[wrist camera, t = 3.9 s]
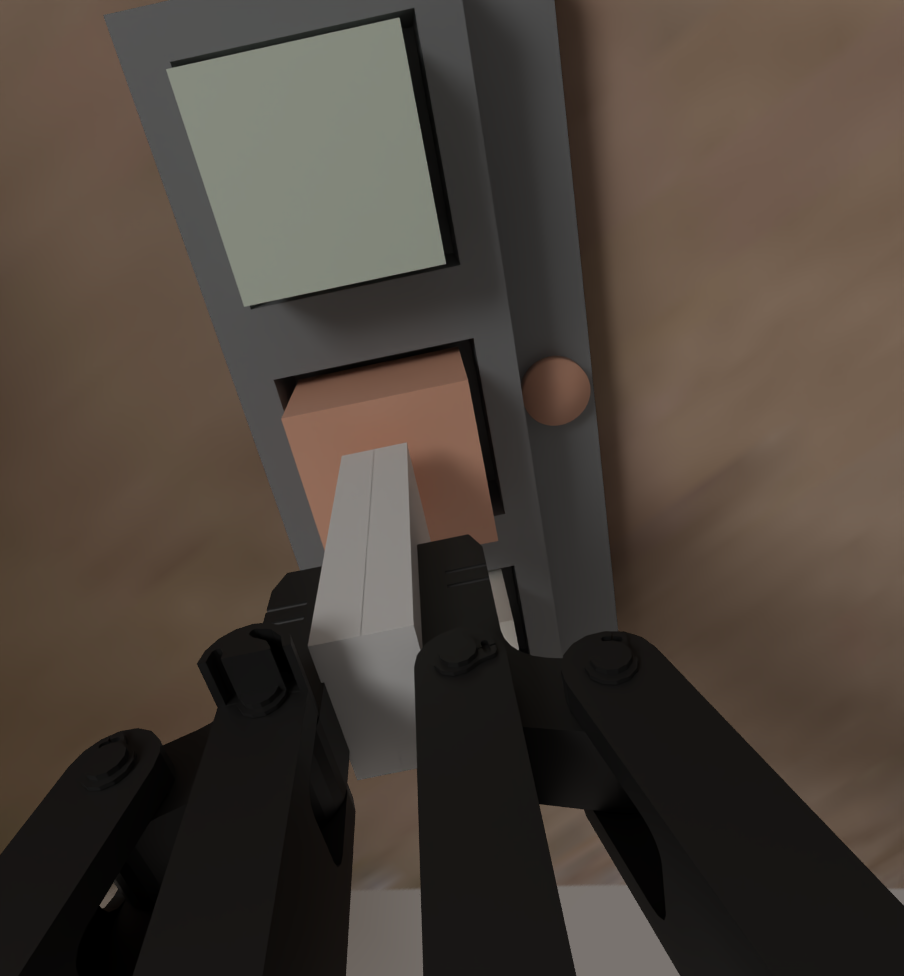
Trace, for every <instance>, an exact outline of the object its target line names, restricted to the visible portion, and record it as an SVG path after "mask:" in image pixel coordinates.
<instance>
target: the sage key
mask: <svg viewBox="0 0 904 976" xmlns="http://www.w3.org/2000/svg"><path fill="white" fill-rule="evenodd" d="M166 71H167V74H168V77H169V80H170V83H171V86H172V89H173V92H174V95H175V98H176V101H177V104H178V107H179V110H180V113H181V117H182V120H183V123H184V126H185V129H186V132H187V135H188V138H189V141H190V144H191V147H192V150H193V153H194V156H195V159H196V162H197V165H198V168H199V171H200V174H201V177H202V180H203V183H204V186H205V189H206V192H207V195H208V198H209V201H210V205H211V208H212V211H213V214H214V217H215V220H216V223H217V226H218V229H219V232H220V235H221V238H222V241H223V244H224V247H225V250H226V253H227V256H228V259H229V262H230V265H231V268H232V271H233V274H234V277H235V280H236V283H237V286H238V289H239V292H240V296H241V299H242V302H243V305H244V307H245V306H250V305H255V304H260V303H264V302H269V301H274V300H278V299H283V298H288V297H293V296H297V295H302V294H307V293H311V292H316V291H321V290H326V289H330V288H335V287H340V286H344V285H349V284H354V283H359V282H363V281H368V280H373V279H377V278H382V277H387V276H392V275H396V274H401V273H406V272H410V271H415V270H420V269H425V268H429V267H434V266H439V265H443V264H446V261H445V256H444V250H443V245H442V240H441V235H440V229H439V224H438V219H437V213H436V208H435V203H434V198H433V192H432V187H431V182H430V176H429V171H428V166H427V160H426V155H425V150H424V145H423V139H422V134H421V129H420V123H419V118H418V113H417V108H416V102H415V97H414V92H413V86H412V81H411V76H410V71H409V65H408V60H407V55H406V49H405V44H404V39H403V33H402V28H401V23H400V18H395V19H390V20H386V21H381V22H377V23H372V24H368V25H363V26H359V27H354V28H350V29H345V30H341V31H336V32H332V33H327V34H323V35H318V36H314V37H309V38H305V39H300V40H296V41H291V42H287V43H282V44H278V45H273V46H268V47H264V48H259V49H255V50H250V51H246V52H241V53H237V54H232V55H228V56H223V57H219V58H214V59H210V60H205V61H201V62H196V63H192V64H187V65H183V66H178V67H174V68H169V69H166Z"/></svg>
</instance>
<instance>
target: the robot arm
mask: <svg viewBox="0 0 904 976" xmlns="http://www.w3.org/2000/svg"><path fill="white" fill-rule="evenodd" d="M197 665H198V667H199V669H200V671H201V673H202V676H203V678H204V680H205V682H206V684H207V686H208V688H209V690H210V692H211V694H212V697H213V699H214V701H215V703H216V705H217V707H218V708H217V712H216V715H215V718H214V721H213V722H212V723H210V724H208V725H206V726H204V727H202V728H201V729H199V730H197V731H194V732H192V733H190V734H188V735H185V736H183V737H181V738H179V739H176V740H174V741H172V742H170V743H167V744H165V745H162V743H161V741H160V740H159V738H158V737H157V736H156V735H155V734H154V733H153V732H152V731H149V730H144V729H139V728H136V729H130V730H125V731H120V732H117V733H115V734H113V735H110V736H108V737H106V738H104V739H101V740H100V741H98V742H97V743H95V744H94V745H93V746H91V747H90V748H88V749H87V750H85V751H84V752H83V753H82V754H81V755H80V756H79V757H78V758H77V759H76V760H75V761H74V762H73V763H72V764H71V765H70V766H69V767H68V768H67V770H66V771H65V772H64V773H63V775H62V776H61V777H60V779H59V780H58V781H57V782H56V784H55V785H54V786H53V788H52V789H51V790H50V792H49V793H48V794H47V795H46V797H45V798H44V799H43V801H42V802H41V803H40V804H39V806H38V807H37V808H36V810H35V811H34V812H33V813H32V815H31V816H30V817H29V819H28V820H27V821H26V822H25V824H24V825H23V826H22V828H21V829H20V830H19V831H18V833H17V834H16V835H15V837H14V838H13V839H12V840H11V842H10V843H9V844H8V846H7V847H6V848H5V849H4V851H3V852H2V853H1V855H0V976H346V964H347V947H348V929H349V912H350V895H351V879H352V862H353V845H354V828H355V806H354V800H353V797H352V794H351V791H350V789H349V786H348V784H347V780H348V767H349V759H350V762H351V764H352V767H353V770H354V772H355V775H356V778H357V780H361V779H366V778H371V777H376V776H381V775H386V774H391V773H396V772H401V771H406V770H411V769H416V768H417V783H418V815H419V847H420V880H421V912H422V943H423V944H422V945H423V976H576V972H575V968H574V963H573V959H572V954H571V949H570V945H569V940H568V935H567V931H566V926H565V922H564V917H563V912H562V908H561V903H560V899H559V894H558V889H557V885H556V880H555V875H554V871H553V866H552V861H551V857H550V852H549V848H548V843H547V838H546V834H545V829H544V825H543V820H542V815H541V811H540V806H539V804H543V805H551V806H560V807H569V808H578V809H584V811H585V814H586V816H587V818H588V820H589V821H590V823H591V825H592V827H593V828H594V830H595V832H596V833H597V835H598V837H599V838H600V840H601V842H602V844H603V845H604V847H605V849H606V850H607V852H608V854H609V855H610V857H611V859H612V861H613V862H614V864H615V866H616V867H617V869H618V871H619V872H620V874H621V876H622V878H623V879H624V881H625V883H626V884H627V886H628V888H629V889H630V891H631V893H632V894H633V896H634V898H635V900H636V901H637V903H638V905H639V906H640V908H641V910H642V911H643V913H644V915H645V917H646V918H647V920H648V921H649V923H650V925H651V927H652V928H653V930H654V932H655V934H656V935H657V937H658V939H659V940H660V942H661V944H662V945H663V947H664V949H665V951H666V952H667V954H668V956H669V957H670V959H671V960H672V962H673V964H674V966H675V968H676V969H677V971H678V973H679V974H680V976H904V905H902V903H901V902H900V901H899V900H898V899H897V898H896V897H895V896H894V895H893V894H892V893H891V892H890V891H889V890H888V889H887V888H886V887H885V886H884V885H883V884H882V883H881V881H880V880H879V879H878V878H877V877H876V876H875V875H874V874H873V873H872V872H871V871H870V870H869V869H868V868H867V867H866V866H865V865H864V864H863V863H862V862H861V861H860V860H859V859H858V857H857V856H856V855H855V854H854V853H853V852H852V851H851V850H850V849H849V848H848V847H847V846H846V845H845V844H844V843H843V842H842V841H841V840H840V839H839V838H838V837H837V836H836V835H835V833H834V832H833V831H832V830H831V829H830V828H829V827H828V826H827V825H826V824H825V823H824V822H823V821H822V820H821V819H820V818H819V817H818V816H817V815H816V814H815V813H814V812H813V811H812V810H811V808H810V807H809V806H808V805H807V804H806V803H805V802H804V801H803V800H802V799H801V798H800V797H799V796H798V795H797V794H796V793H795V792H794V791H793V790H792V789H791V788H790V787H789V786H788V784H787V783H786V782H785V781H784V780H783V779H782V778H781V777H780V776H779V775H778V774H777V773H776V772H775V771H774V770H773V769H772V768H771V767H770V766H769V765H768V764H767V763H766V762H765V761H764V759H763V758H762V757H761V756H760V755H759V754H758V753H757V752H756V751H755V750H754V749H753V748H752V747H751V746H750V745H749V744H748V743H747V742H746V741H745V740H744V739H743V738H742V737H741V735H740V734H739V733H738V732H737V731H736V730H735V729H734V728H733V727H732V726H731V725H730V724H729V723H728V722H727V721H726V720H725V719H724V718H723V717H722V716H721V715H720V714H719V713H718V711H717V710H716V709H715V708H714V707H713V706H712V705H711V704H710V703H709V702H708V701H707V700H706V699H705V698H704V697H703V696H702V695H701V694H700V693H699V692H698V691H697V690H696V689H695V688H694V686H693V685H692V684H691V683H690V682H689V681H688V680H687V679H686V678H685V677H684V676H683V675H682V674H681V673H680V672H679V671H678V670H677V669H676V668H675V667H674V666H673V665H672V664H671V662H670V661H669V660H668V659H667V658H666V657H665V656H664V655H663V654H662V653H661V652H660V651H659V650H658V649H657V648H656V647H655V646H654V645H652V644H651V643H649V642H648V641H647V640H645V639H644V638H642V637H640V636H637V635H633V634H630V633H627V632H619V631H603V632H599V633H595V634H590V635H587V636H585V637H583V638H581V639H580V640H578V641H576V642H574V643H573V644H572V645H571V646H570V647H569V649H568V650H567V651H566V652H565V654H564V655H563V658H546V657H539V656H532V655H529V654H526V653H523V652H521V651H519V650H517V649H516V648H514V647H512V646H511V645H510V644H509V643H508V642H507V641H506V640H505V638H504V636H503V634H502V632H501V629H500V624H499V620H498V615H497V610H496V606H495V601H494V597H493V592H492V588H491V583H490V579H489V574H488V569H487V565H486V560H485V556H484V551H483V547H482V545H480V544H479V543H478V542H477V541H476V540H475V539H474V538H472V537H471V536H470V535H469V534H467V535H462V536H457V537H452V538H447V539H442V540H437V541H432V542H431V540H430V536H429V532H428V528H427V524H426V519H425V515H424V511H423V507H422V503H421V499H420V495H419V491H418V487H417V482H416V478H415V474H414V470H413V466H412V462H411V458H410V454H409V449H408V445H407V442H406V443H401V444H396V445H392V446H387V447H382V448H377V449H372V450H368V451H363V452H358V453H353V454H348V455H344V456H342V457H341V463H340V469H339V474H338V480H337V485H336V491H335V497H334V502H333V508H332V513H331V519H330V525H329V530H328V536H327V541H326V547H325V553H324V558H323V564H322V566H320V567H315V568H310V569H305V570H300V571H296V572H291V573H287V574H286V575H285V576H284V578H283V579H282V580H281V581H280V582H279V584H278V585H277V586H276V587H275V588H274V590H273V591H272V593H271V597H270V600H269V604H268V607H267V613H266V614H265V618H264V621H263V623H260V624H251V625H248V626H245V627H242V628H239V629H236V630H234V631H232V632H230V633H228V634H227V635H225V636H223V637H221V638H220V639H218V640H217V641H216V642H215V643H214V644H212V645H211V646H210V647H209V648H208V649H207V650H206V651H205V652H204V653H203V655H202V657H201V658H200V660H199V661H198V663H197ZM113 882H114V883H115V885H116V886H117V888H118V890H117V892H116V894H115V895H114V897H113V898H112V899H111V901H110V902H109V903H108V904H107V906H106V907H105V908H101V907H100V906H99V905H100V904H101V902H102V900H103V899H104V897H105V895H106V894H107V892H108V890H109V889H110V887H111V885H112V884H113Z"/></svg>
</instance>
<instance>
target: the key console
mask: <svg viewBox="0 0 904 976" xmlns="http://www.w3.org/2000/svg"><path fill="white" fill-rule="evenodd" d="M103 16H104V19H105V21H106V24H107V27H108V30H109V33H110V36H111V38H112V41H113V44H114V47H115V50H116V52H117V55H118V58H119V61H120V64H121V67H122V69H123V72H124V75H125V78H126V81H127V83H128V86H129V89H130V92H131V95H132V98H133V100H134V103H135V106H136V109H137V112H138V114H139V117H140V120H141V123H142V126H143V129H144V131H145V134H146V137H147V140H148V143H149V145H150V148H151V151H152V154H153V157H154V160H155V162H156V165H157V168H158V171H159V174H160V176H161V179H162V182H163V185H164V188H165V191H166V193H167V196H168V199H169V202H170V205H171V207H172V210H173V213H174V216H175V219H176V222H177V224H178V227H179V230H180V233H181V236H182V238H183V241H184V244H185V247H186V250H187V253H188V255H189V258H190V261H191V264H192V267H193V269H194V272H195V275H196V278H197V281H198V284H199V286H200V289H201V292H202V295H203V298H204V300H205V303H206V306H207V309H208V312H209V315H210V317H211V320H212V323H213V326H214V329H215V332H216V334H217V337H218V340H219V343H220V346H221V348H222V351H223V354H224V357H225V360H226V363H227V365H228V368H229V371H230V374H231V377H232V379H233V382H234V385H235V388H236V391H237V394H238V396H239V399H240V402H241V405H242V408H243V410H244V413H245V416H246V419H247V422H248V425H249V427H250V430H251V433H252V436H253V439H254V441H255V444H256V447H257V450H258V453H259V456H260V458H261V461H262V464H263V467H264V470H265V472H266V475H267V478H268V481H269V484H270V487H271V489H272V492H273V495H274V498H275V501H276V503H277V506H278V509H279V512H280V515H281V518H282V520H283V523H284V526H285V529H286V532H287V534H288V537H289V540H290V543H291V546H292V549H293V551H294V554H295V557H296V560H297V563H298V565H299V568H300V570H305V569H310V568H315V567H320V566H322V564H323V558H324V553H325V550H324V547H323V544H322V541H321V538H320V535H319V532H318V529H317V526H316V523H315V520H314V517H313V514H312V511H311V508H310V505H309V502H308V499H307V496H306V493H305V490H304V487H303V484H302V481H301V478H300V474H299V471H298V468H297V465H296V462H295V459H294V456H293V453H292V450H291V447H290V444H289V441H288V438H287V435H286V432H285V429H284V426H283V423H282V420H281V418H282V416H283V413H284V411H285V409H286V407H287V405H288V402H289V400H290V398H291V396H292V394H293V391H294V389H295V387H296V385H297V382H298V380H300V379H304V378H309V377H314V376H319V375H323V374H328V373H333V372H338V371H343V370H347V369H352V368H357V367H362V366H367V365H371V364H376V363H381V362H386V361H391V360H395V359H400V358H405V357H410V356H414V355H419V354H424V353H429V352H434V351H438V350H443V349H448V348H453V347H458V348H459V351H460V355H461V358H462V361H463V365H464V368H465V372H466V375H467V378H468V383H469V388H470V393H471V399H472V404H473V409H474V415H475V420H476V425H477V430H478V436H479V441H480V446H481V452H482V457H483V462H484V467H485V473H486V478H487V483H488V489H489V494H490V499H491V504H492V510H493V515H494V520H495V526H496V531H497V536H498V541H495V542H490V543H485V544H480V545H482V547H483V551H484V556H485V560H486V565H487V569H488V571H489V570H494V569H499V568H501V571H502V575H503V579H504V583H505V587H506V592H507V596H508V600H509V604H510V608H511V612H512V617H513V621H514V626H515V632H516V637H517V642H518V647H519V651H521V652H523V653H526V654H529V655H532V656H539V657H546V658H563V655H564V654H565V652H566V651H567V650H568V649H569V647H570V646H571V645H572V644H573V643H574V642H576V641H578V640H580V639H581V638H583V637H585V636H587V635H590V634H595V633H599V632H603V631H618V625H617V615H616V605H615V595H614V586H613V576H612V566H611V556H610V546H609V536H608V526H607V516H606V506H605V496H604V487H603V477H602V467H601V457H600V447H599V437H598V427H597V417H596V407H595V397H594V388H593V378H592V368H591V358H590V348H589V338H588V328H587V318H586V308H585V298H584V289H583V279H582V269H581V259H580V249H579V239H578V229H577V219H576V209H575V199H574V190H573V180H572V170H571V160H570V150H569V140H568V130H567V120H566V110H565V101H564V91H563V81H562V71H561V61H560V51H559V41H558V31H557V21H556V11H555V2H554V0H169V1H165V2H160V3H156V4H151V5H147V6H142V7H138V8H133V9H129V10H125V11H120V12H116V13H111V14H107V15H103ZM395 18H400V23H401V28H402V33H403V39H404V44H405V49H406V55H407V60H408V65H409V71H410V76H411V81H412V86H413V92H414V97H415V102H416V108H417V113H418V118H419V123H420V129H421V134H422V139H423V145H424V150H425V155H426V160H427V166H428V171H429V176H430V182H431V187H432V192H433V198H434V203H435V208H436V213H437V219H438V224H439V229H440V235H441V240H442V245H443V250H444V256H445V261H446V264H443V265H439V266H434V267H429V268H425V269H420V270H415V271H410V272H406V273H401V274H396V275H392V276H387V277H382V278H377V279H373V280H368V281H363V282H359V283H354V284H349V285H344V286H340V287H335V288H330V289H326V290H321V291H316V292H311V293H307V294H302V295H297V296H293V297H288V298H283V299H278V300H274V301H269V302H264V303H260V304H255V305H250V306H245V307H244V305H243V302H242V299H241V296H240V292H239V289H238V286H237V283H236V280H235V277H234V274H233V271H232V268H231V265H230V262H229V259H228V256H227V253H226V250H225V247H224V244H223V241H222V238H221V235H220V232H219V229H218V226H217V223H216V220H215V217H214V214H213V211H212V208H211V205H210V201H209V198H208V195H207V192H206V189H205V186H204V183H203V180H202V177H201V174H200V171H199V168H198V165H197V162H196V159H195V156H194V153H193V150H192V147H191V144H190V141H189V138H188V135H187V132H186V129H185V126H184V123H183V120H182V117H181V113H180V110H179V107H178V104H177V101H176V98H175V95H174V92H173V89H172V86H171V83H170V80H169V77H168V74H167V71H166V69H169V68H174V67H178V66H183V65H187V64H192V63H196V62H201V61H205V60H210V59H214V58H219V57H223V56H228V55H232V54H237V53H241V52H246V51H250V50H255V49H259V48H264V47H268V46H273V45H278V44H282V43H287V42H291V41H296V40H300V39H305V38H309V37H314V36H318V35H323V34H327V33H332V32H336V31H341V30H345V29H350V28H354V27H359V26H363V25H368V24H372V23H377V22H381V21H386V20H390V19H395Z"/></svg>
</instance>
